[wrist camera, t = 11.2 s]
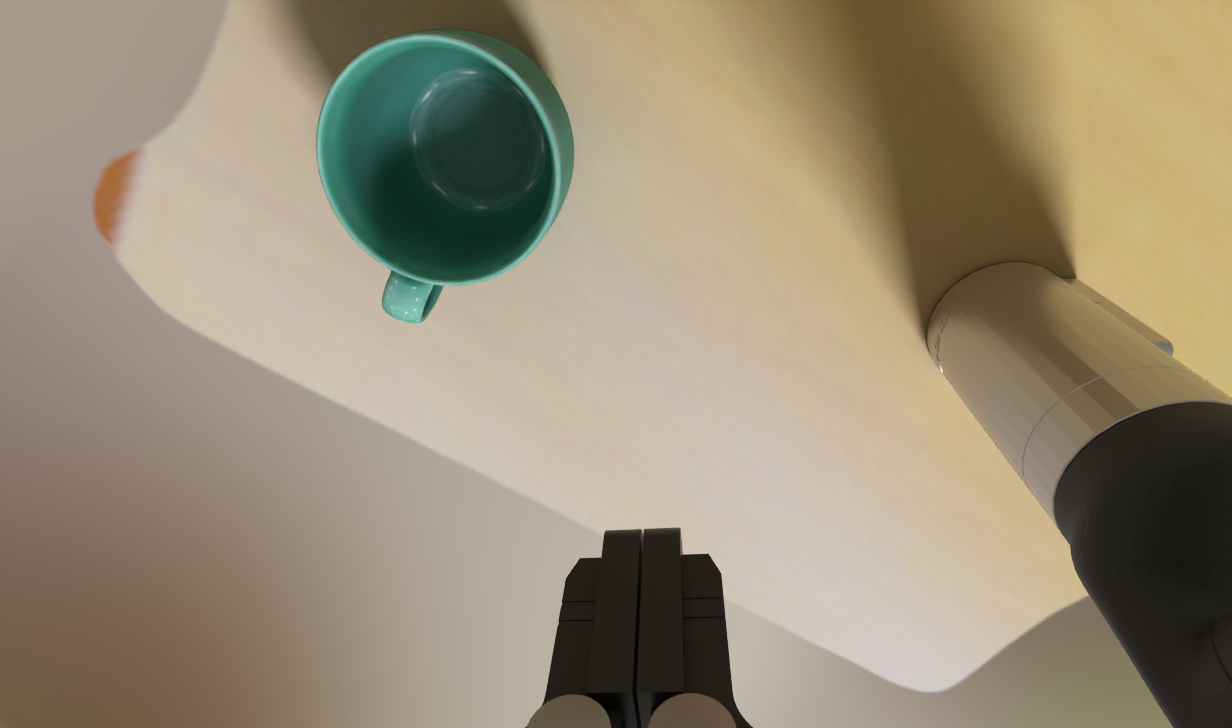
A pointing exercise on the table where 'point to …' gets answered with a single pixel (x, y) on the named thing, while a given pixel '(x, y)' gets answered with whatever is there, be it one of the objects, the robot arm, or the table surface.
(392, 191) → the mug
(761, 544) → the table surface
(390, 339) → the table surface
